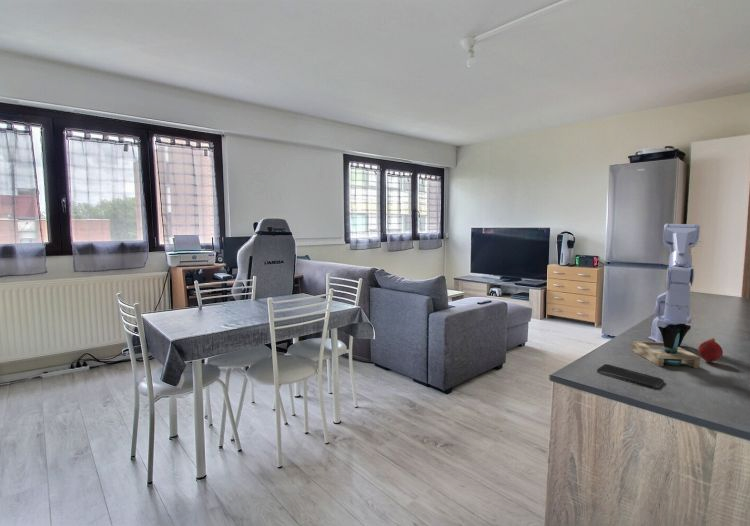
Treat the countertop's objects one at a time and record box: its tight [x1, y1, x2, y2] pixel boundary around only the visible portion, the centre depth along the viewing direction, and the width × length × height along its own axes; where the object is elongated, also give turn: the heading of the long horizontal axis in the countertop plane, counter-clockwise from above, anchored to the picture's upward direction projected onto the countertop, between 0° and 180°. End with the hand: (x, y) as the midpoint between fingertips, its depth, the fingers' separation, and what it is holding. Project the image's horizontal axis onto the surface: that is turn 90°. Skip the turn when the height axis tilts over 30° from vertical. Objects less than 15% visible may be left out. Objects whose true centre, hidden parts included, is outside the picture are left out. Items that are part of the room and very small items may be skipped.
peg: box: [663, 332, 683, 367], centre depth 123 cm, size 6×6×10 cm
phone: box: [596, 363, 665, 390], centre depth 111 cm, size 8×1×15 cm
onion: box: [697, 337, 724, 363], centre depth 124 cm, size 6×6×8 cm
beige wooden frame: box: [631, 340, 701, 369], centre depth 126 cm, size 14×12×4 cm
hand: (671, 347), depth 123 cm, fingers closed on peg, 3 cm apart
